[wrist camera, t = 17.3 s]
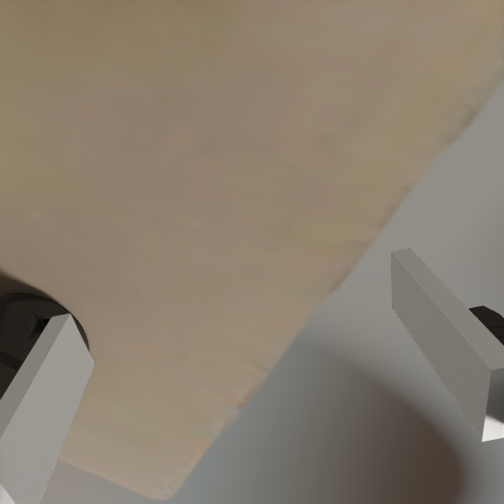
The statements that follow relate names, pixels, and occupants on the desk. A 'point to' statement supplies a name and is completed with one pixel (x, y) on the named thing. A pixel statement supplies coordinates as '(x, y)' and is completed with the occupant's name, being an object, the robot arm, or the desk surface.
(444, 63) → the desk surface
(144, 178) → the desk surface
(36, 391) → the robot arm
